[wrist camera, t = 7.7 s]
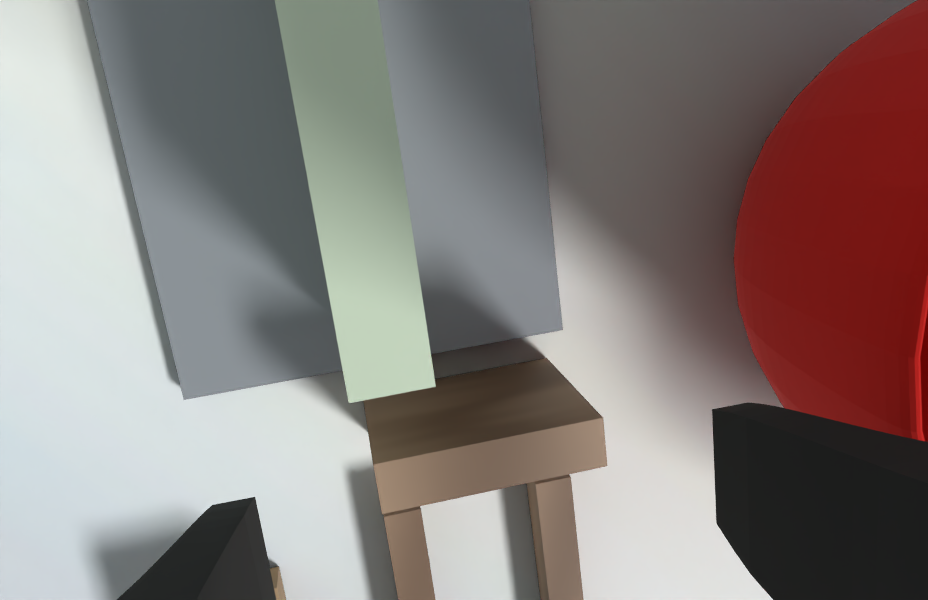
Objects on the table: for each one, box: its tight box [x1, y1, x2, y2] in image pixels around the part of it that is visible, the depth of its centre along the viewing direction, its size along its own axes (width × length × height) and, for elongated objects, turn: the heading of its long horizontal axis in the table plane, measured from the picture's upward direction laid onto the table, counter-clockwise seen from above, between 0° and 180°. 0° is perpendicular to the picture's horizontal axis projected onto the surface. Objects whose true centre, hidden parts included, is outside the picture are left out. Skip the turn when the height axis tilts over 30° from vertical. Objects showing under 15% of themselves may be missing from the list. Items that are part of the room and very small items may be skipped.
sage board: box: [275, 0, 436, 403], centre depth 15 cm, size 2×9×6 cm, turn 8°
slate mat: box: [87, 0, 563, 400], centre depth 19 cm, size 10×12×1 cm
